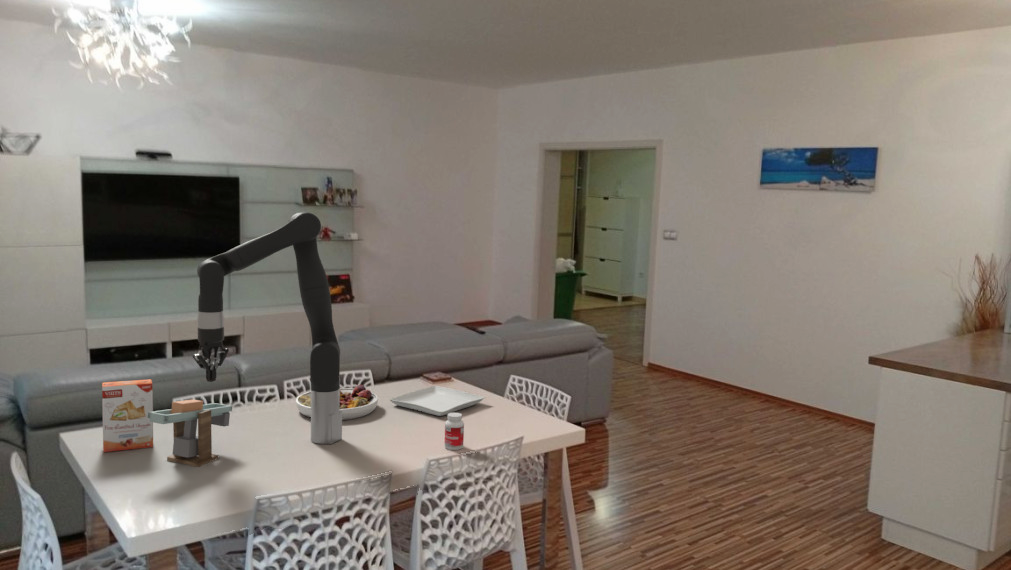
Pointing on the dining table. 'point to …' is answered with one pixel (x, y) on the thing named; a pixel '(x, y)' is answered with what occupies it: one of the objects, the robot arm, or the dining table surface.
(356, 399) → the bowl
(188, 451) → the beam
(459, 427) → the pill bottle
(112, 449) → the cracker box
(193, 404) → the block
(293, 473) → the dining table surface
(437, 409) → the square plate
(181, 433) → the pivot stand
